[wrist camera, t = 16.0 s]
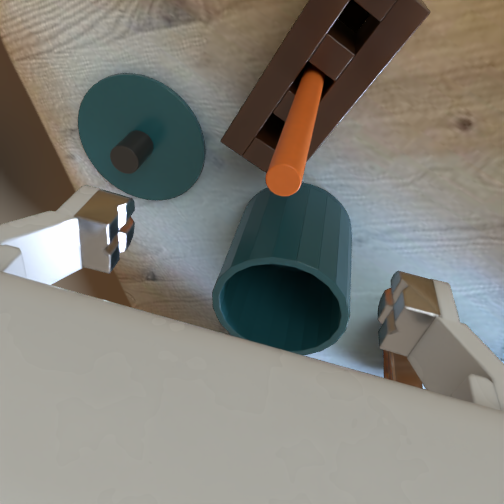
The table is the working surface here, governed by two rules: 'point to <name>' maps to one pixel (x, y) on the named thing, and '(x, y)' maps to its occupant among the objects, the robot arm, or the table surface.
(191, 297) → the table surface
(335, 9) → the straw rack
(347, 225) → the can
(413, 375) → the tin
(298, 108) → the straw
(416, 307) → the robot arm
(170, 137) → the can lid
